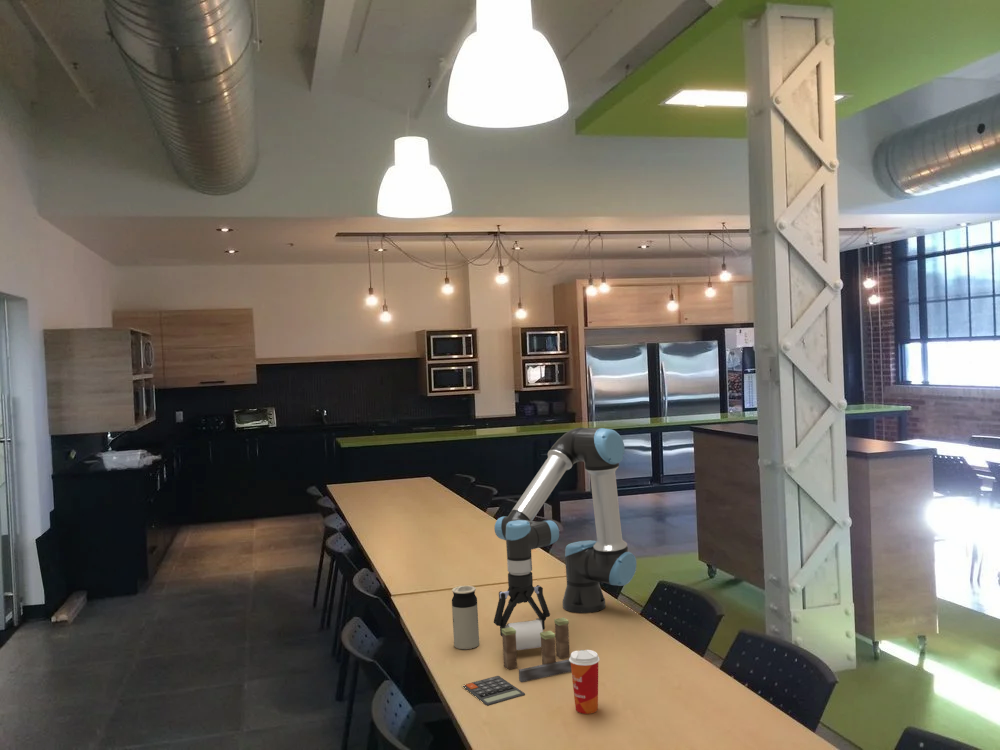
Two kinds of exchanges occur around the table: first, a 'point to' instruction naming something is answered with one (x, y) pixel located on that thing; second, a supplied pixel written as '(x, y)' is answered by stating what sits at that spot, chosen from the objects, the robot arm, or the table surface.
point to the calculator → (493, 690)
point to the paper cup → (585, 680)
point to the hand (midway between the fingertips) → (523, 643)
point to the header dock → (547, 649)
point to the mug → (527, 634)
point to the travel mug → (465, 617)
